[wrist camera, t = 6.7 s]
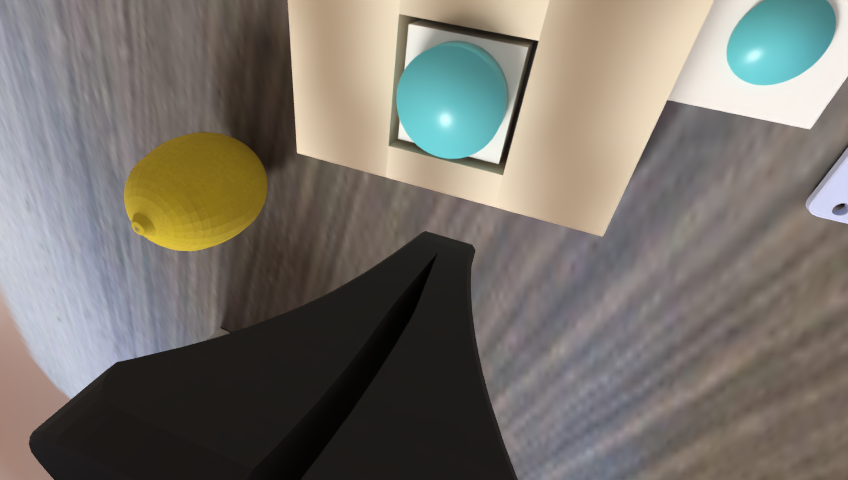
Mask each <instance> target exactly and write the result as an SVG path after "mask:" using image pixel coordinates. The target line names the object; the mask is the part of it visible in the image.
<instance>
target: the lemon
mask: <svg viewBox="0 0 848 480" xmlns="http://www.w3.org/2000/svg"><path fill="white" fill-rule="evenodd" d="M267 191H268V182H267V175H266V172H265V169H264V166H263V165H262V163H261V161H260V159H259V158H258V157H257V155H256V154H255V153H254V152H253V151H252V150H251V149H250V148H249V147H248V146H246V145H245V144H244V143H242V142H240V141H239V140H237V139H235V138H232V137H230V136H227V135H224V134H220V133H208V132H198V133H192V134H188V135H184V136H181V137H177V138H174V139H171V140H169V141H167V142H165V143H163V144H161V145H160V146H158V147H157V148H155V149H154V150H152V151H151V152H150V153H149V154H148V155H146V156H145V157H144V158H143V159H142V160H140V161H139V162H138V163H137V164H136V165H135V167H134V168H133V169H132V171H131V173H130V175H129V177H128V179H127V182H126V185H125V190H124V203H125V207H126V211H127V214H128V216H129V219H130V220H131V222H132V223H131V226H132V228H133V230H134V231H135V232H136V233H138V234H139V235H143V236H144V237H146V238H147V239H149V240H150V241H152V242H154V243H156V244H158V245H160V246H163V247H166V248H170V249H173V250H180V251H196V250H201V249H205V248H209V247H212V246H215V245H218V244H220V243H223V242H225V241H227V240H229V239H231V238H233V237H234V236H236V235H237V234H239V233H240V232H241V231H243V230H244V229H245V228H246V227H248V226H249V225H250V224H251V223H252V222H253V221H254V220H255V219H256V217H257V216H258V215H259V213H260V211H261V209H262V208H263V206H264V203H265V201H266V197H267Z"/></svg>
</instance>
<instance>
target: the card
mask: <svg viewBox="0 0 848 480" xmlns="http://www.w3.org/2000/svg"><path fill="white" fill-rule="evenodd" d="M847 76H848V0H714V2H713V4H712V6H711V8H710V10H709V12H708V15H707V17H706V19H705V21H704V23H703V25H702V27H701V29H700V32H699V34H698V36H697V38H696V40H695V42H694V44H693V46H692V48H691V51H690V53H689V55H688V57H687V59H686V61H685V63H684V65H683V68H682V70H681V72H680V74H679V76H678V78H677V80H676V82H675V85H674V87H673V89H672V91H671V93H670V95H669V97H668V99H667V100H671V101H676V102H681V103H685V104H690V105H695V106H700V107H705V108H710V109H714V110H719V111H724V112H729V113H734V114H739V115H743V116H748V117H753V118H758V119H763V120H768V121H772V122H777V123H782V124H787V125H792V126H797V127H801V128H806V129H811V127H812V126H813V125H814V123H815V122H816V120H817V119H818V117H819V116H820V115H821V113H822V112H823V110H824V109H825V107H826V106H827V105H828V103H829V102H830V100H831V99H832V98H833V96H834V95H835V93H836V92H837V90H838V89H839V88H840V86H841V85H842V83H843V82H844V81H845V79H846V78H847Z"/></svg>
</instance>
